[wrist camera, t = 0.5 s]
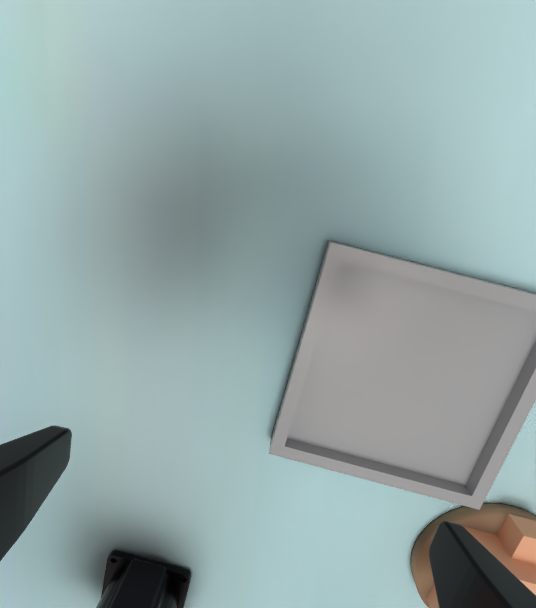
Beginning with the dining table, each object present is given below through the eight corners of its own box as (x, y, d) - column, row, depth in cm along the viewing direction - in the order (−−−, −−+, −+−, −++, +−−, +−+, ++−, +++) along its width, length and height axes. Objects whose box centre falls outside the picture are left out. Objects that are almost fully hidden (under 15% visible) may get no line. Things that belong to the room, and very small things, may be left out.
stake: (522, 629, 26) (575, 728, 21) (391, 593, 26) (413, 683, 21) (587, 526, 24) (665, 610, 19) (441, 486, 24) (479, 560, 19)
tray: (468, 491, 24) (479, 509, 22) (270, 438, 24) (269, 453, 22) (562, 300, 20) (582, 307, 19) (328, 240, 20) (330, 242, 19)
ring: (518, 622, 25) (547, 676, 22) (426, 597, 25) (443, 648, 22) (574, 531, 23) (614, 578, 20) (473, 504, 23) (499, 547, 20)
